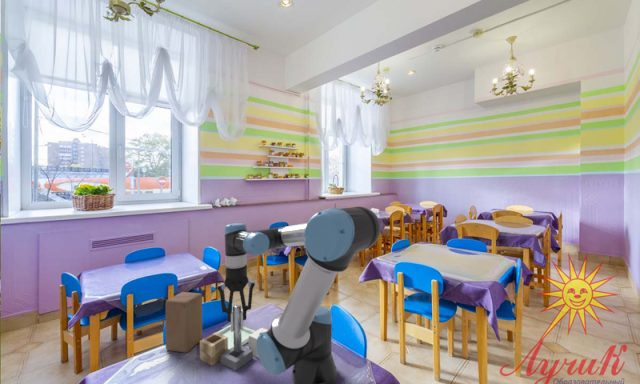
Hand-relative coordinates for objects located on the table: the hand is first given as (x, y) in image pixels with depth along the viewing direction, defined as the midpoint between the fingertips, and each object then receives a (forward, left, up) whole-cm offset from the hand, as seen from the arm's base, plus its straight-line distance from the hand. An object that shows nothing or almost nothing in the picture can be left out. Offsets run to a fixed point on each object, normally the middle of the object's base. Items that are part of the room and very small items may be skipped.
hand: (237, 329), depth 99 cm
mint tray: (+14, -9, -12) cm, 20 cm away
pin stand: (+1, 0, -12) cm, 12 cm away
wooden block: (+27, +4, -12) cm, 29 cm away
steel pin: (0, 0, -8) cm, 8 cm away
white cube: (-3, -9, -12) cm, 16 cm away
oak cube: (+10, +3, -12) cm, 16 cm away
